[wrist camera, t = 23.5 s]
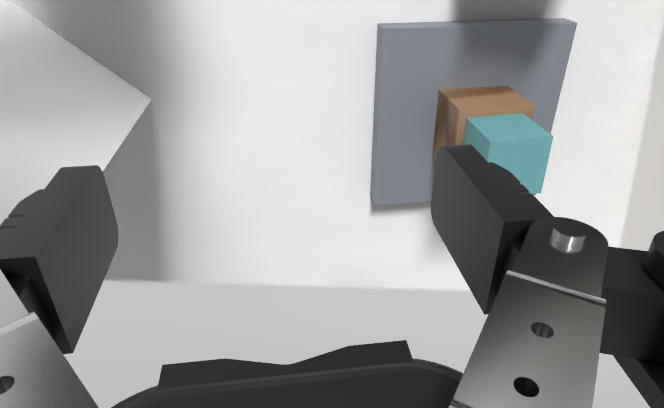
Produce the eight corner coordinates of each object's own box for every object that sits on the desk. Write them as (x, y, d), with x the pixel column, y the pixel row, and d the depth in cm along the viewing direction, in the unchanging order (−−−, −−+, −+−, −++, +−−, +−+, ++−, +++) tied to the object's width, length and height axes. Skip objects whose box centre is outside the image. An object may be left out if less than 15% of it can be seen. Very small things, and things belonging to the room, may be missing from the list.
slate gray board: (377, 23, 40) (383, 28, 38) (564, 18, 41) (577, 22, 40) (370, 195, 48) (374, 206, 46) (526, 184, 50) (535, 194, 48)
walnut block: (438, 89, 41) (459, 109, 37) (507, 85, 42) (535, 105, 37) (432, 154, 44) (450, 180, 40) (496, 150, 45) (521, 175, 40)
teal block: (466, 117, 37) (490, 141, 33) (523, 113, 38) (553, 136, 34) (460, 170, 39) (482, 198, 36) (513, 165, 40) (540, 192, 36)
